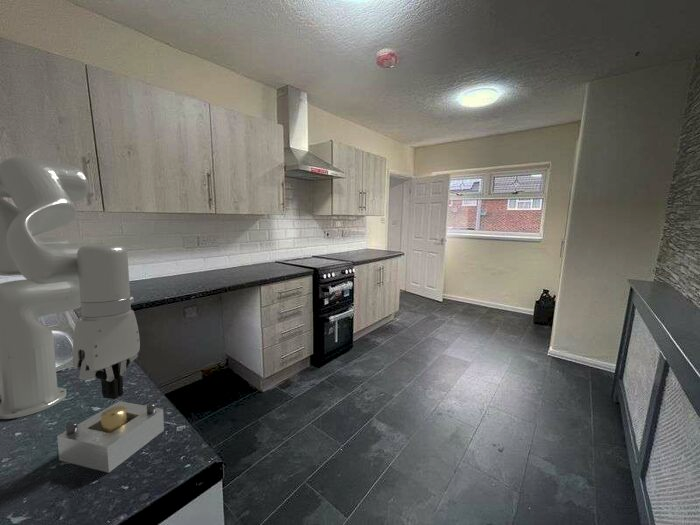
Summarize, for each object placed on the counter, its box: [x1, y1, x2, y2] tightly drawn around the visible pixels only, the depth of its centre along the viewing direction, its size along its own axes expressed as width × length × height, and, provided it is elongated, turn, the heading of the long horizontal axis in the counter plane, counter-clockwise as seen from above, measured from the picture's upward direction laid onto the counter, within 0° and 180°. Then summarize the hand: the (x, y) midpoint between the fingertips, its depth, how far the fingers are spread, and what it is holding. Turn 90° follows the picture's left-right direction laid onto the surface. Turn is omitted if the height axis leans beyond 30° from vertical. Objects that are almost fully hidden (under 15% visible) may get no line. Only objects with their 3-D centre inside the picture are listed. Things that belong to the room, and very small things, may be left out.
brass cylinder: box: [101, 406, 127, 433], centre depth 60 cm, size 4×4×7 cm
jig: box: [56, 400, 165, 474], centre depth 60 cm, size 12×12×7 cm
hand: (113, 396), depth 60 cm, fingers closed
